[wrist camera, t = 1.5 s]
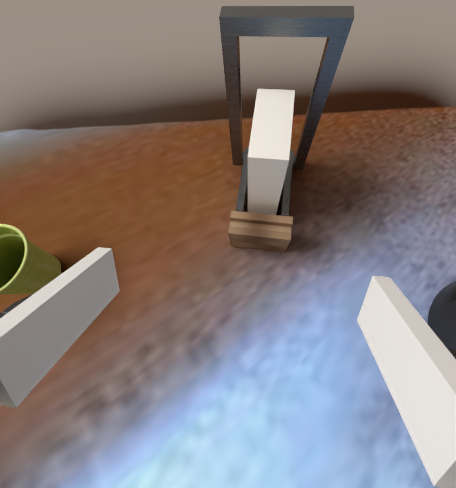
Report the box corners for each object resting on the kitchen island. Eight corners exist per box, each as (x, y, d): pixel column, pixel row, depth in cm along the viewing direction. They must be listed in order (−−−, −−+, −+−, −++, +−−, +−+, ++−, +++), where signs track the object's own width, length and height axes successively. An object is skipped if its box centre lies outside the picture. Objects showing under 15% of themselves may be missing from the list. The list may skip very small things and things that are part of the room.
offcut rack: (302, 162, 41) (353, 6, 21) (298, 225, 37) (355, 109, 18) (234, 157, 42) (221, 6, 23) (224, 217, 39) (198, 102, 19)
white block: (278, 173, 41) (294, 90, 27) (273, 223, 38) (288, 160, 24) (254, 171, 41) (257, 88, 27) (247, 220, 38) (247, 157, 24)
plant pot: (42, 236, 40) (-11, 212, 32) (85, 261, 38) (41, 243, 30) (1, 287, 38) (-66, 275, 30) (46, 317, 36) (-14, 313, 28)
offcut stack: (286, 233, 37) (293, 216, 32) (284, 252, 36) (291, 238, 31) (233, 228, 38) (231, 210, 33) (231, 246, 37) (227, 231, 32)
